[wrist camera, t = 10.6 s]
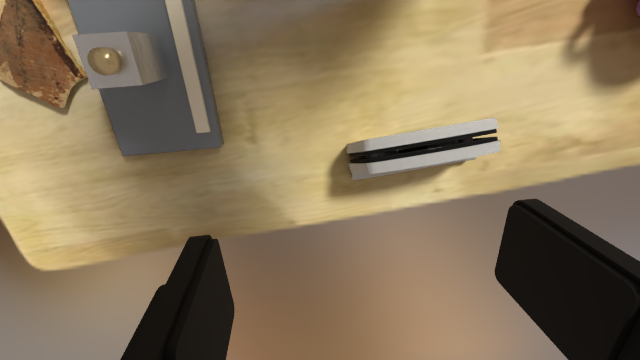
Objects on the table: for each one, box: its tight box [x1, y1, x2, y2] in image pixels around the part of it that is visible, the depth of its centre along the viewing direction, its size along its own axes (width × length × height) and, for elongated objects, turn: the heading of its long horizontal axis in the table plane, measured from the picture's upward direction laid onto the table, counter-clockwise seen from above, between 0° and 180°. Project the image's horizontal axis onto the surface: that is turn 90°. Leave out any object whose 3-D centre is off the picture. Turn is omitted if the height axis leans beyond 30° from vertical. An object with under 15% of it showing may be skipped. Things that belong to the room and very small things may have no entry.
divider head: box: [72, 31, 168, 89], centre depth 27 cm, size 4×4×8 cm
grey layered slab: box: [347, 118, 500, 181], centre depth 35 cm, size 17×5×10 cm, turn 98°
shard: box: [0, 0, 87, 108], centre depth 30 cm, size 11×8×2 cm
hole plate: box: [67, 0, 224, 156], centre depth 29 cm, size 28×11×2 cm, turn 4°
